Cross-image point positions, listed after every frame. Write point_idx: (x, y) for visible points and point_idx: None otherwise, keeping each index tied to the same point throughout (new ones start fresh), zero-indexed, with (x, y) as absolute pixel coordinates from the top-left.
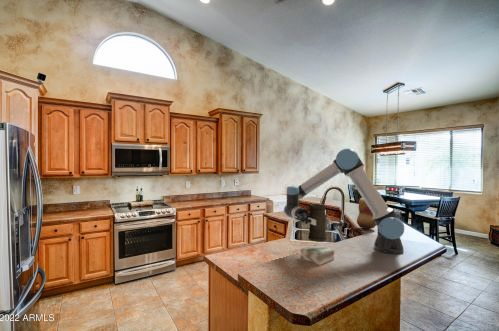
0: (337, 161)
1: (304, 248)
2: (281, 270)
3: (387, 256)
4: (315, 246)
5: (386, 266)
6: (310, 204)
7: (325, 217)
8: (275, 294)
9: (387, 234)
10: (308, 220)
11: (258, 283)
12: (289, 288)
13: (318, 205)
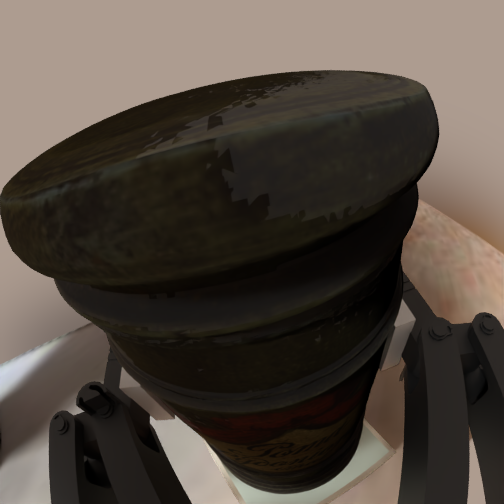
0: None
1: (374, 452)
2: (462, 319)
3: (18, 406)
4: (281, 495)
5: (84, 347)
6: (412, 95)
7: (78, 417)
8: (443, 222)
9: None
10: (404, 282)
11: (488, 250)
12: (423, 238)
13: (206, 89)
